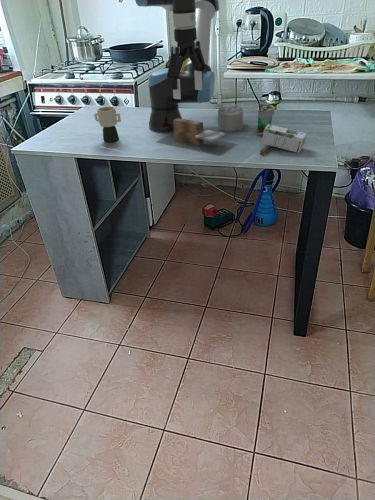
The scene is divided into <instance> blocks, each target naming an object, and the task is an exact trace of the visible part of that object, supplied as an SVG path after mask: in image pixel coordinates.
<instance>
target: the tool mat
mask: <svg viewBox="0 0 375 500" xmlns="http://www.w3.org/2000/svg"><path fill="white" fill-rule="evenodd" d="M155 143H157V144H163V145H167V146H172V147H176V148H181V149H187V150H190V151H191V150H192V151H196V152H200V153H205V154H210V155H214V156H221V155H224V153H226V152H228V151H229V150H231V149H232V148H234V147H236V146H238V144H237V143H233V142H227V141H223V140H219V139H217V140H215V141H213V142H212V141H207V140H203V143H202V144H201V145H195V144H190V143H185V142H180V141H175V140H174V132H171V134H169V135H167V136H165V137H163V138H161V139H158V140H156V141H155Z"/></svg>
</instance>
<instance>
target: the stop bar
mask: <svg viewBox="0 0 375 500" xmlns="http://www.w3.org/2000/svg"><path fill="white" fill-rule="evenodd" d="M274 148H275V147H273V146H270V145H266V146H265V147H264V148H262V149H261V150H260V154H259V155H260V156H265V155H266V154H267V153H268V152H270V151H272V150H273V149H274ZM264 154H265V155H264Z"/></svg>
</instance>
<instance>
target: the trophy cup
mask: <svg viewBox="0 0 375 500" xmlns="http://www.w3.org/2000/svg"><path fill="white" fill-rule="evenodd" d="M93 115H94V120H95V122H98V123H99V125H100V127H101V128H102V137H103V138H102V140H103V141H104V142H105V143H113V142H116V141H118V140H119V139H120V137H119V133H118V131H117V127H116V125H118V123H121V121H122V120H121V114H120V113H118V112H117V110H116V107H115V106H113V105H112V106H111V105H109V106H108V105H107V106H101V107H98V108H96V112H94V114H93Z"/></svg>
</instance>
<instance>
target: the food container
mask: <svg viewBox="0 0 375 500" xmlns="http://www.w3.org/2000/svg"><path fill="white" fill-rule="evenodd" d="M274 115H275V109H274V106H272V105H270V104H265V103H259V109H258V112H257V128H256V129H257V130H256V137H258V136H260V137H261V136H263V132H264V129H265V128H266V127H267V125H268V124H270V125H272V120H273V116H274Z"/></svg>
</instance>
